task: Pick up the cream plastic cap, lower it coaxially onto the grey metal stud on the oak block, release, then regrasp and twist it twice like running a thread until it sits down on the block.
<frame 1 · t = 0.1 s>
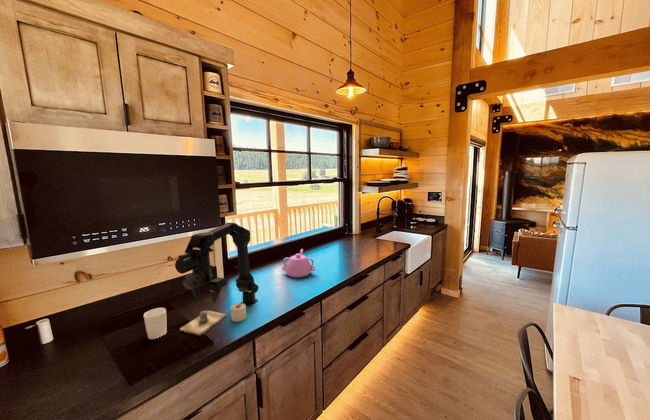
hand: (205, 300, 110), 15 cm above the counter, fingers open, 9 cm apart
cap: (239, 317, 123), on the counter
teapot: (299, 273, 177), on the counter
white cup: (157, 334, 112), on the counter
stud block: (204, 323, 119), on the counter
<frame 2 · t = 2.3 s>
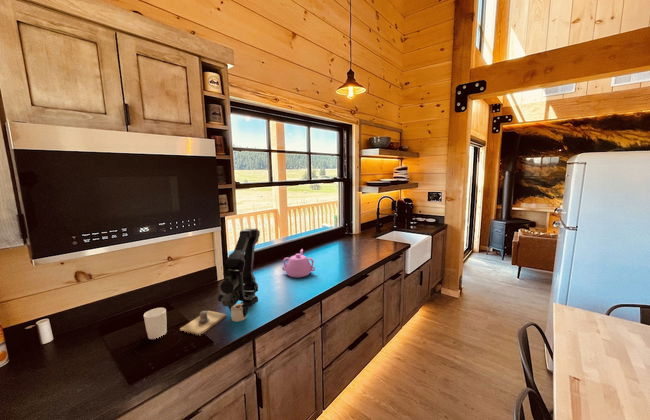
hand: (238, 315, 123), 1 cm above the counter, fingers closed on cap, 6 cm apart
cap: (239, 317, 123), on the counter, touching gripper
everything else where it was.
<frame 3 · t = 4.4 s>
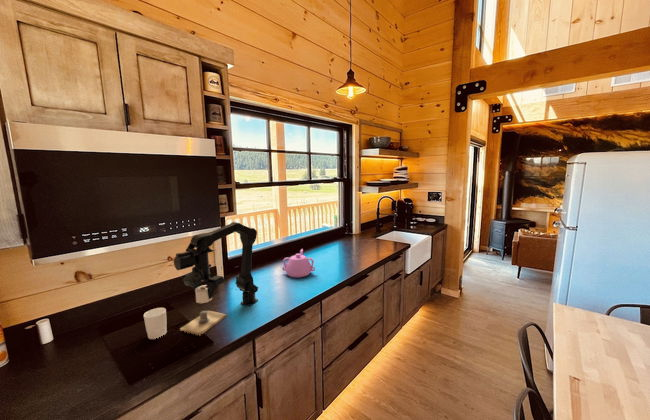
hand: (204, 297, 117), 12 cm above the counter, fingers closed on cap, 6 cm apart
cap: (204, 299, 117), point 11 cm above the counter, touching gripper
everything else where it was.
when the fingers open (3 cm above the counter, at t = 6.6 s): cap drops 1 cm, resting on stud block.
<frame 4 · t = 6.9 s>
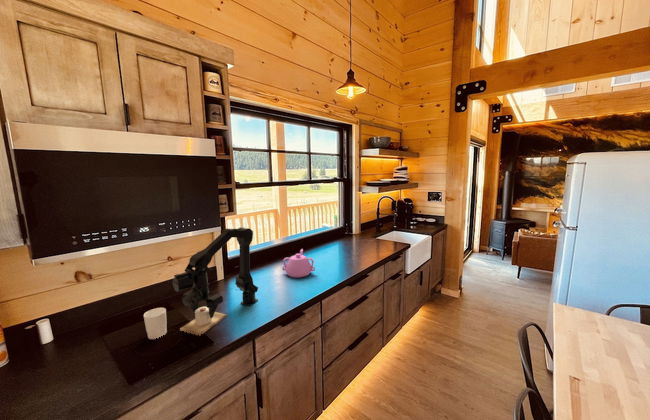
hand: (203, 316, 119), 3 cm above the counter, fingers open, 9 cm apart
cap: (204, 321, 119), point 1 cm above the counter, touching stud block
everything else where it was.
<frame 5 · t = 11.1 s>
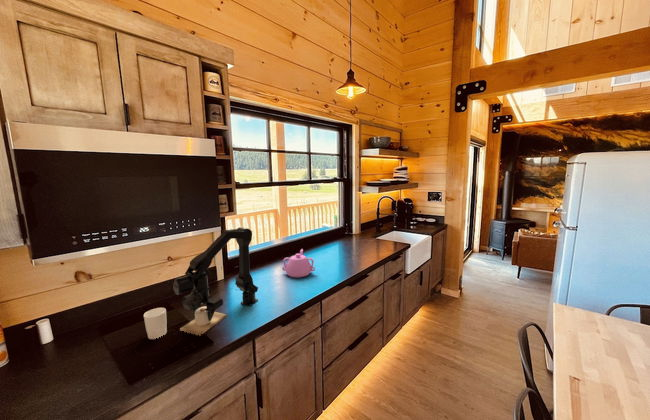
hand: (203, 319, 119), 2 cm above the counter, fingers closed on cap, 7 cm apart
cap: (204, 321, 119), point 1 cm above the counter, touching gripper, stud block
everything else where it was.
when the fingers open (2 cm above the counter, at t = 12.6 s): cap stays where it is, resting on stud block.
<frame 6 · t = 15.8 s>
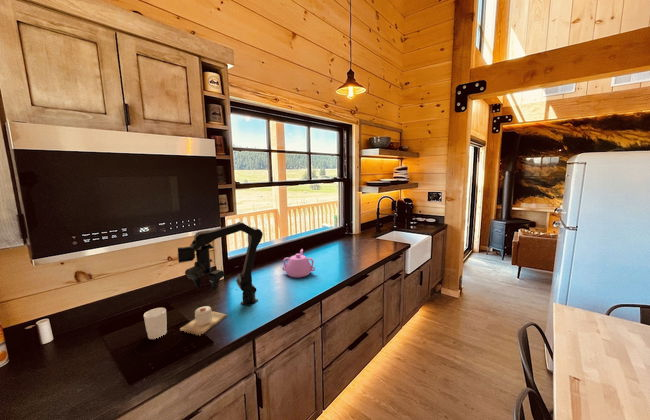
hand: (206, 290, 126), 12 cm above the counter, fingers open, 9 cm apart
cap: (204, 321, 119), point 1 cm above the counter, touching stud block
everything else where it was.
at the end: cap 0.1 cm from the stud block (horizontally); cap point 1.0 cm above the counter; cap tilted 0° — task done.
